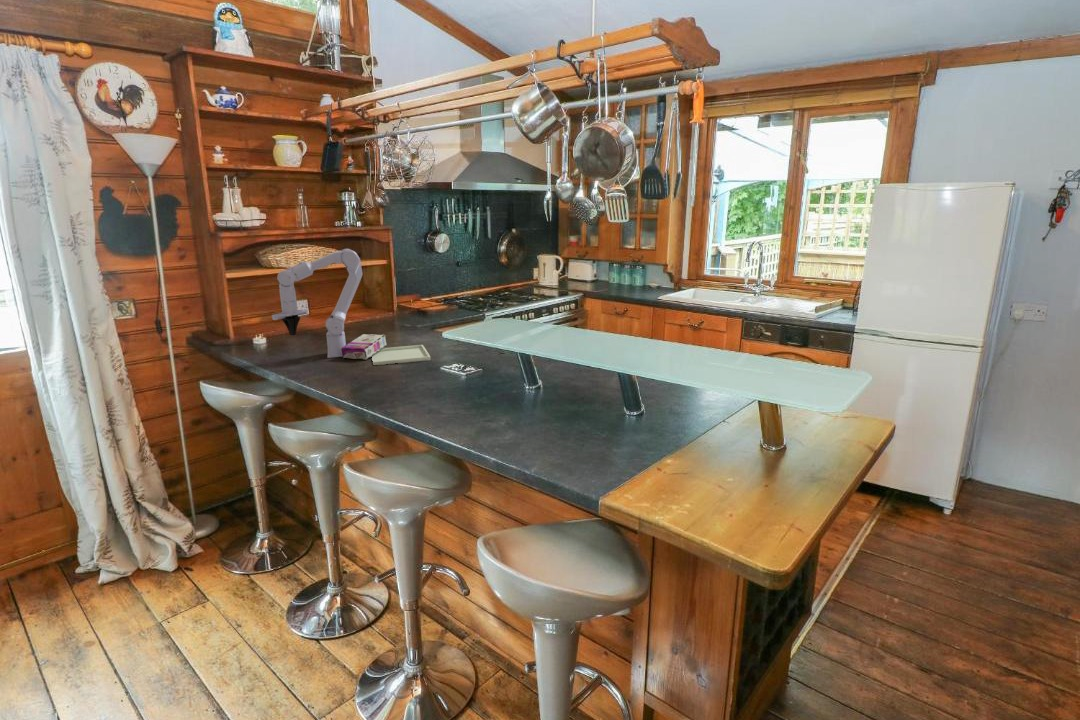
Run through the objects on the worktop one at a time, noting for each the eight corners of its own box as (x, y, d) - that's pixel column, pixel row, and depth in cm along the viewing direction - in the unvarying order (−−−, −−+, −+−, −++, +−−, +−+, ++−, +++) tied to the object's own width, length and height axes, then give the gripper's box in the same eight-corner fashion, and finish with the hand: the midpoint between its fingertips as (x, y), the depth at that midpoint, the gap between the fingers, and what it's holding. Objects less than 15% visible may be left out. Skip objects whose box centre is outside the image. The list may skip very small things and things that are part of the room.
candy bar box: (366, 360, 235) (387, 345, 250) (364, 349, 233) (385, 334, 248) (342, 359, 239) (364, 344, 253) (340, 348, 237) (362, 333, 251)
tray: (370, 352, 247) (370, 349, 247) (423, 348, 254) (422, 344, 254) (373, 365, 227) (373, 362, 227) (430, 360, 234) (430, 356, 234)
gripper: (277, 304, 223) (282, 339, 227) (311, 299, 235) (314, 332, 239) (267, 303, 227) (271, 337, 231) (300, 297, 239) (304, 330, 242)
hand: (292, 334), depth 235 cm, fingers closed
